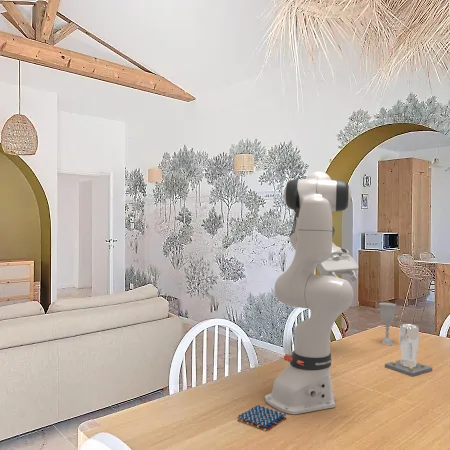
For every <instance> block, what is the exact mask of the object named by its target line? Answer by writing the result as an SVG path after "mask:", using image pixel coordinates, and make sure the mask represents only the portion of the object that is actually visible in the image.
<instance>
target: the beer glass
mask: <svg viewBox="0 0 450 450" xmlns="http://www.w3.org/2000/svg"><path fill="white" fill-rule="evenodd" d="M419 330H420V329H419V326H418V325H416V324H412V323H411V324H410V323H402V324H399V331H398V332H399V333H398V340H399V347H400V352H401V353H400V355H401V358H400V360H401V362H400V365H401V366H403V367H407V368H409V366H412V367H413V368H416V367H417V363H418V361H417V353H418V349H419V344H420V331H419Z"/></svg>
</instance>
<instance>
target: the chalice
mask: <svg viewBox="0 0 450 450" xmlns="http://www.w3.org/2000/svg"><path fill="white" fill-rule="evenodd" d="M378 304H379V306H380V310H379V311H380V312H379V313H380V317H381V320H382V323H383V324H384V325H385V337H384V338H382V340H381V342H380V343H381V345H384V344H386V346H393V345H394V343H393V340H392V338H390V337H389V334H390V332H389V330H390V327H389V325H391V324H392V323H393V321H394V319H395V315H396V313H395V312H396V310H395V309H396V306H397V304H396V303H392V302H379V303H378Z"/></svg>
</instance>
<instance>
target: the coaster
mask: <svg viewBox="0 0 450 450" xmlns="http://www.w3.org/2000/svg"><path fill="white" fill-rule="evenodd" d="M400 362H401V359H398V360H397V359H396V360H392V361H390V362H387V363H384V368H387V369H390V370H391V371H392V370H393V371H396V372H398V373H401V374H404V375H407V376H411V377H416V376H419V375H422V374H426V373H429V372H432V371H433V367H432V366H429V365H426V364H425V363H424V362H421V363H420V362H417V367H416V368H413V367H412V366H409V368H407V367H403V366H401V365H400Z"/></svg>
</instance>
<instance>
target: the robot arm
mask: <svg viewBox="0 0 450 450" xmlns="http://www.w3.org/2000/svg"><path fill="white" fill-rule="evenodd" d="M283 198H284V202H285V205H286V207H288V208H289V209H291V210H293V211H294V212H293V213H294V218H293V222H292V227H291V231H290V233H289V242H290V244H291V246H292V248H293V249H294V250H295V252H294V257H293V259H292V261H291V263H290V266H289V267H288V268H287V270H285V272H283V273H282V274H280V275H279V276H278V277H277V279H276V281H275V283H274V288H273V289H274V294H275V295H274V296H275V297H276V299H277V301H278V302H280V303H281V304H284V305H287V306H290V307H293V308H294V307H295V308H300V309H301V308H302V309H308V310H310V316H309V318H307V319H305V320H302V321H300V322H299V323H298V324H297V325H296V326H295V328H294V343H293V344H294V347H293V349H294V350H293V352H292V354H291V355H290V354H287V353H284V356H283V360H284V361H287V362H289V365H288V366H287V367H286V368H285V369H284V370H283V371H282V372H281V373H280V374H279V375H277V377H276V378H275V379H274V381H273V386H272V391H271V392H270V393H268V394H265V396H264V401H265V402H266V403H267V404H268V405H269V406H271V407H272V408H275V409H276V410H277V411H279V412H282V413H284V414H289V415H299V414H304V413H305V414H306V413H309V412H316V411H320V410H321V411H323V410H326V409H331V408H335V407H336V402H335V400H336V398H335V394H334V390H333V382H332V376H331V373H332V372H331V366H332V354H331V352H330V351H331V337H332V336H331V335H332V329H333V325H334V324H335V322H336V319H338V317H339V316H340V315H342V313H344V312H346V311H347V310H348V309H350V307H351V305H352V303H353V301H354V297H355V296H354V288H353V287H352V284H351V283H350V282H349V280H347V279H343V278H341V277H339V276H338V275H349V276H350V277H351V278H350V280H351V281H352V282H356V281H357V280H358V278H357V276H356V272H357V271H358V269H359V265H358V263H357V262H356V260H355V259H354V258H353V256H351V255H350V252H349V250H348V249H346V248H343V247H339V246H337V245H336V244H335V242H333V238H334V234H335V228H334V225H333V215H332V214H333V213H332V212H333V211H335V212H341V211H345V210H346V209H348V207H349V204H350V203H351V199H352V190H351V188H350V186H349V184H348V182H347V181H345V180H341V179H336V180H335V179H331V177H330V176H329V174H328V173H326V172H324V171H319V170H318V171H314V172H311V173H310V174H309V175H308V176H307V177H306V178H302V179H299V178H294V179H290V180H289V181H288V182H287V183H286V186H285V188H284V191H283ZM316 269H317V271H318V273H319V274H315V271H316Z"/></svg>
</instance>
